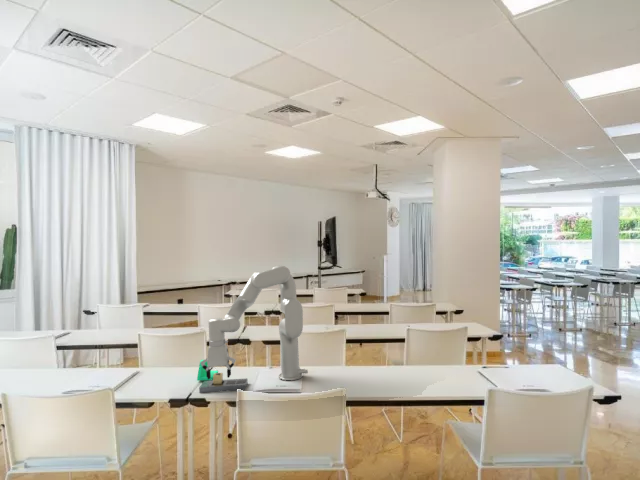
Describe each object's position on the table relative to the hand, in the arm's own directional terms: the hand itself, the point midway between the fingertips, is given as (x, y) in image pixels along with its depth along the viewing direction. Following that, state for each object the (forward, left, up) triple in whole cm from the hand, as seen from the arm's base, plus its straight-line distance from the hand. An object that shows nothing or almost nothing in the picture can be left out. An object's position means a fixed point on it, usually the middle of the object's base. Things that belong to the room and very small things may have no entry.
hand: (218, 377), depth 194 cm
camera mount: (+9, -17, -6) cm, 20 cm away
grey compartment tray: (-2, 0, -5) cm, 6 cm away
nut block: (0, 0, -5) cm, 5 cm away
